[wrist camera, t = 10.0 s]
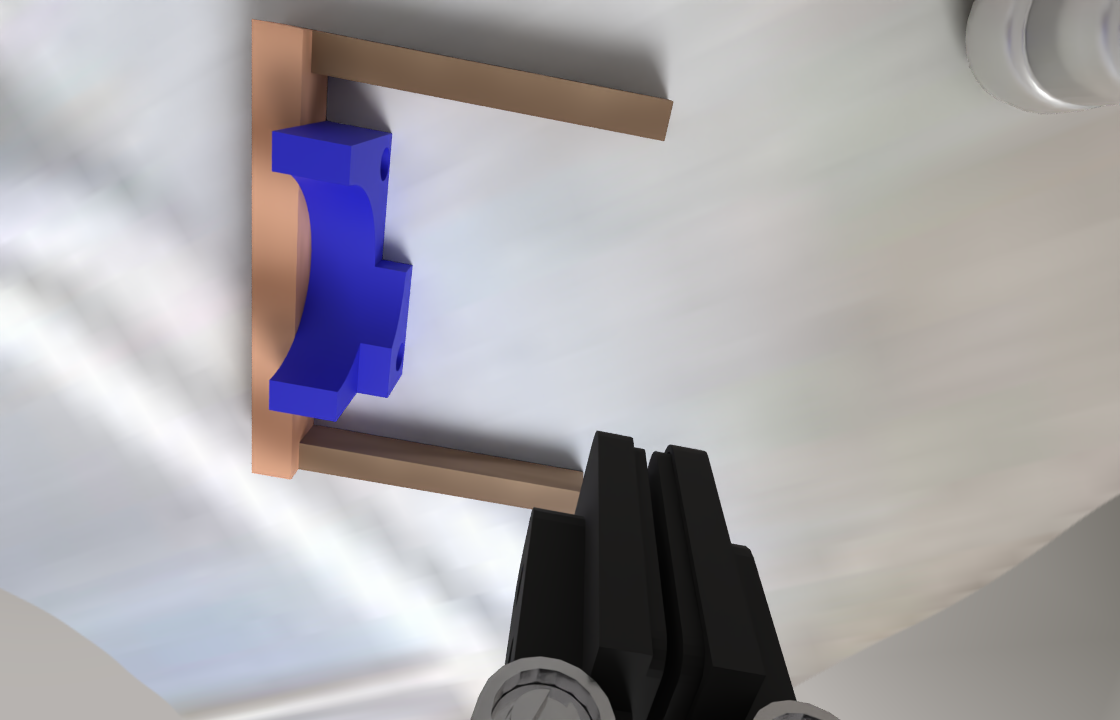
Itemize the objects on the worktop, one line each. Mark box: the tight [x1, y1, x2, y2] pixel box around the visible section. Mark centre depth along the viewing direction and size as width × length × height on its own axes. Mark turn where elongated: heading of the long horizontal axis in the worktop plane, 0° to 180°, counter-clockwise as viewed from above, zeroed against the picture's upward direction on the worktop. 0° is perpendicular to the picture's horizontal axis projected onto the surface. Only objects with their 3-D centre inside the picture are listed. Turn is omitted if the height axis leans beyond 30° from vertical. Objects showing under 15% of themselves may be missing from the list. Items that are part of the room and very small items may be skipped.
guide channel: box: [252, 19, 673, 514], centre depth 32 cm, size 21×17×3 cm
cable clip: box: [269, 121, 413, 422], centre depth 31 cm, size 12×4×6 cm, turn 170°
